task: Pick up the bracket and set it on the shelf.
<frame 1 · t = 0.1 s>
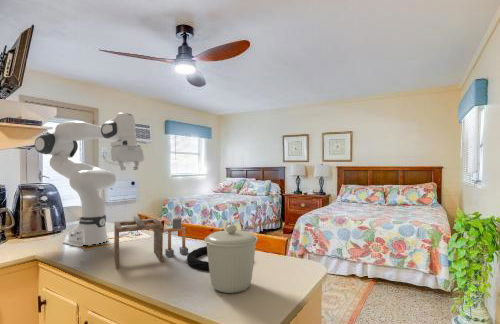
hand: (129, 170, 146), 39 cm above the worktop, tool pointing down, fingers open, 8 cm apart
bracket: (176, 254, 132), on the worktop
canister: (231, 287, 96), on the worktop
cable lock: (219, 260, 125), on the worktop
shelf: (137, 259, 124), on the worktop
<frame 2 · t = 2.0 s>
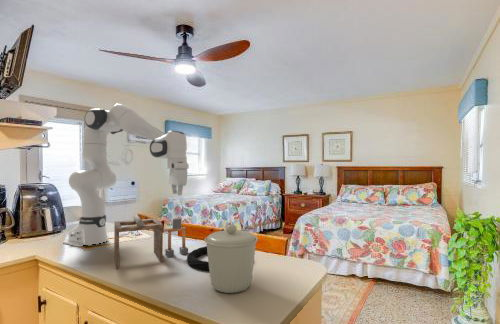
hand: (177, 194, 132), 28 cm above the worktop, tool pointing down, fingers open, 8 cm apart
nothing on the worktop moved.
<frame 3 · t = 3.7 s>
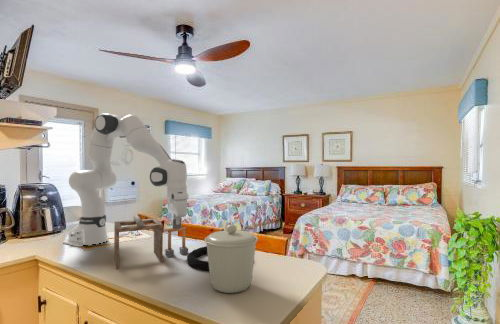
hand: (176, 223, 132), 14 cm above the worktop, tool pointing down, fingers closed on bracket, 2 cm apart
bracket: (176, 254, 132), on the worktop, touching gripper
everything else where it was.
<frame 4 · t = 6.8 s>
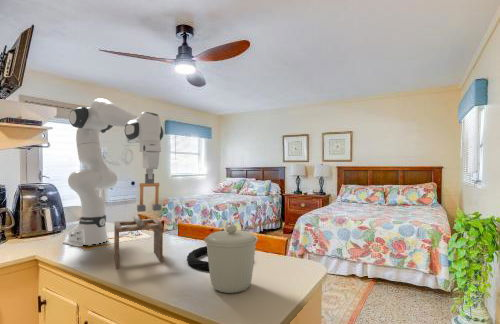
hand: (149, 178, 127), 35 cm above the worktop, tool pointing down, fingers closed on bracket
bracket: (149, 210, 127), point 21 cm above the worktop, touching gripper
everything else where it was.
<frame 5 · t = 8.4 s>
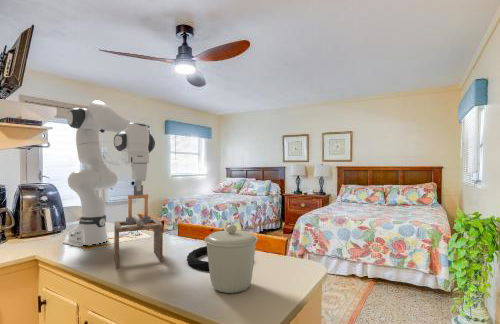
hand: (138, 190, 124), 30 cm above the worktop, tool pointing down, fingers closed on bracket
bracket: (138, 222, 124), point 16 cm above the worktop, touching gripper
everything else where it was.
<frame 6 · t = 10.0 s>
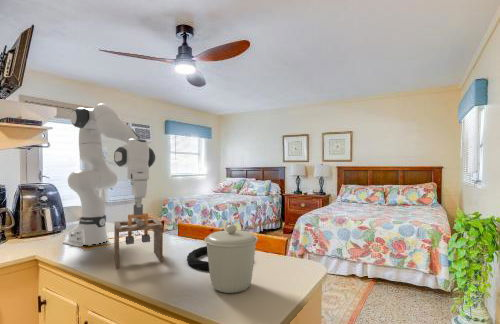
hand: (138, 206, 124), 23 cm above the worktop, tool pointing down, fingers open, 4 cm apart
bracket: (137, 242, 124), point 8 cm above the worktop, touching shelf
everything else where it was.
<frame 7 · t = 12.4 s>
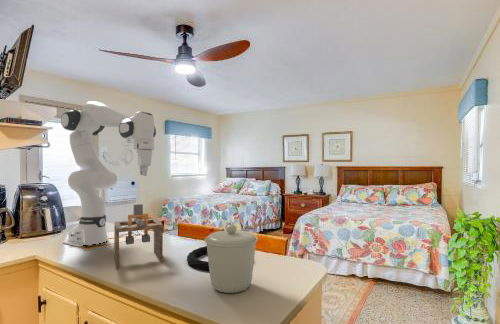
hand: (143, 175, 133), 37 cm above the worktop, tool pointing down, fingers open, 8 cm apart
nothing on the worktop moved.
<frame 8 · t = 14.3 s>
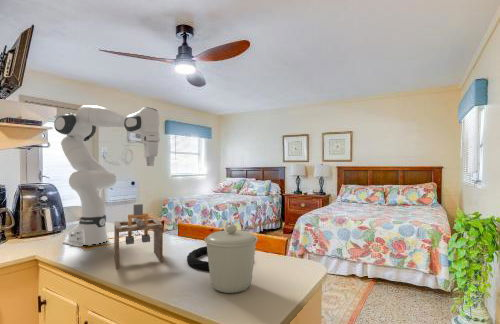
hand: (150, 165, 145), 41 cm above the worktop, tool pointing down, fingers open, 8 cm apart
nothing on the worktop moved.
at the end: bracket 0.0 cm off-centre on the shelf, point 7.7 cm above the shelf's base; bracket touching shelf; the gripper is holding nothing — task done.
